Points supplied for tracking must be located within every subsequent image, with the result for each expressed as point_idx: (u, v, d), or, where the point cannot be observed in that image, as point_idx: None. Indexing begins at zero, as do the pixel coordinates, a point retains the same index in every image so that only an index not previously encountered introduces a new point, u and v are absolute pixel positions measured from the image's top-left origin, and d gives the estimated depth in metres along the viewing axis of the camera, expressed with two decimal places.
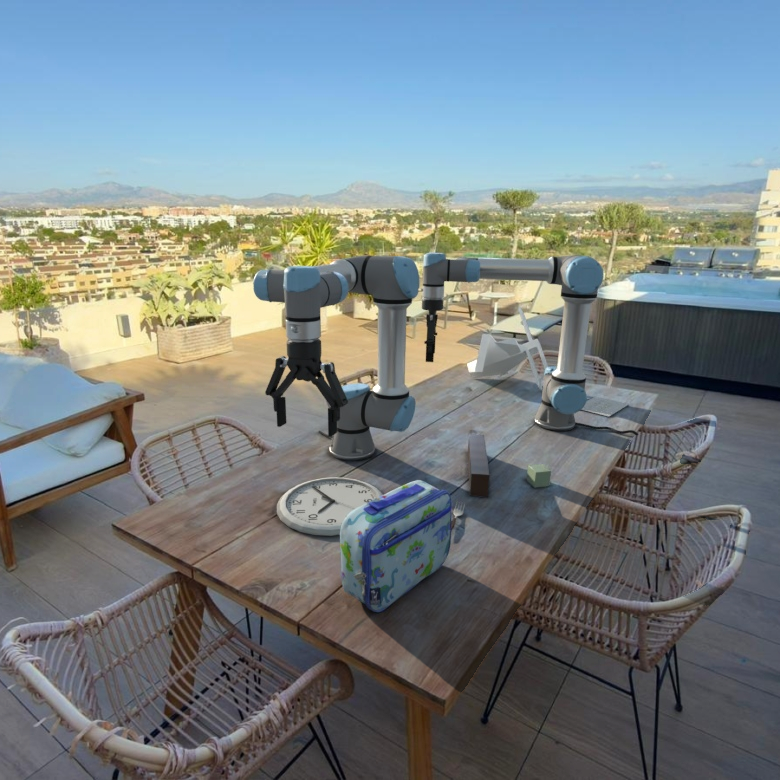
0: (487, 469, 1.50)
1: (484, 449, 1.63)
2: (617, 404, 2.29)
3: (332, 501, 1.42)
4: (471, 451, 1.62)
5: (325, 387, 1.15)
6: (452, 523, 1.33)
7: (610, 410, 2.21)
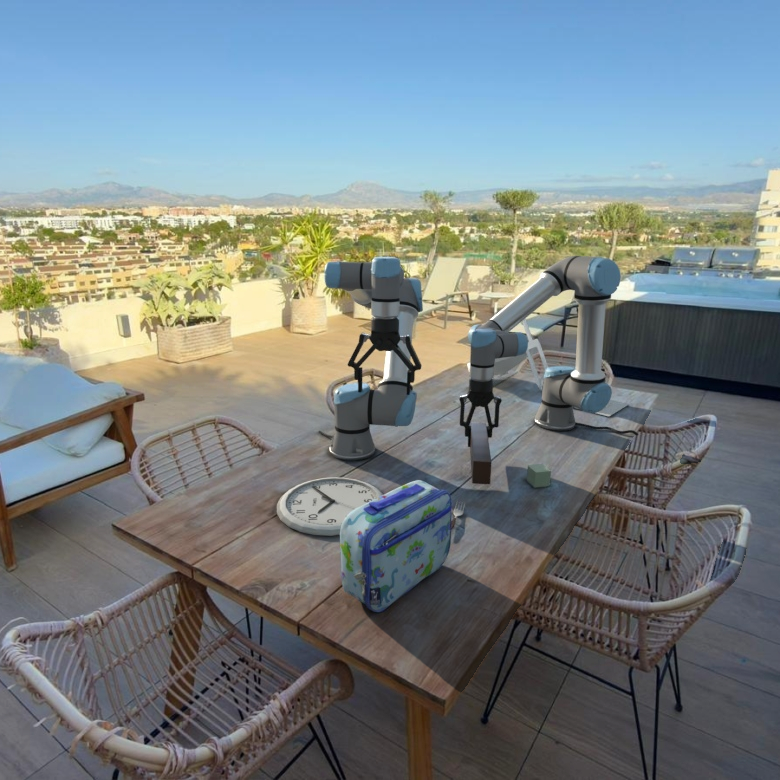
0: (489, 456, 1.49)
1: (486, 437, 1.62)
2: (617, 404, 2.29)
3: (332, 501, 1.42)
4: (473, 439, 1.61)
5: (365, 353, 1.44)
6: (452, 523, 1.33)
7: (610, 410, 2.21)
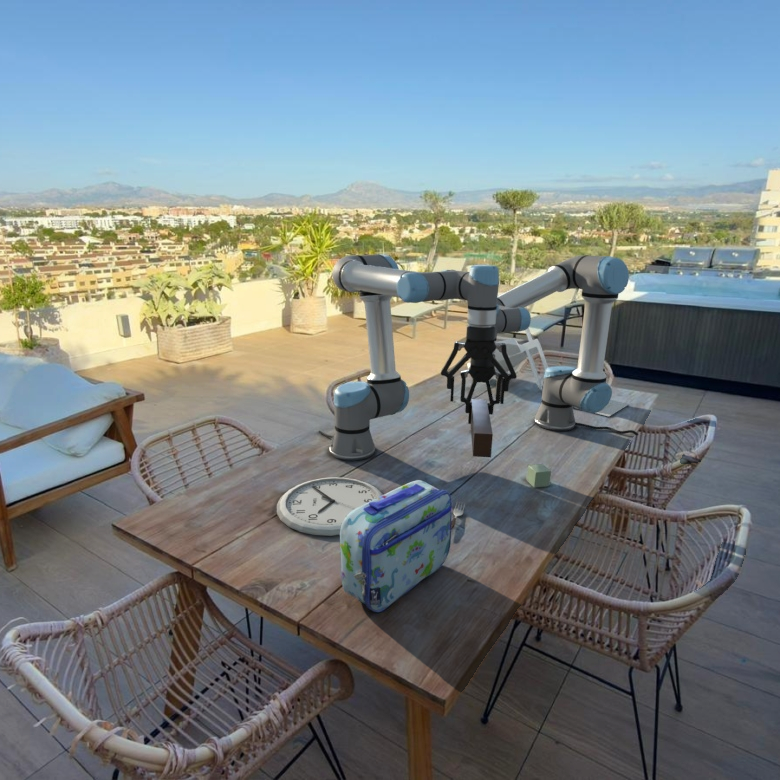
0: (490, 429, 1.46)
1: (487, 412, 1.60)
2: (617, 404, 2.29)
3: (332, 501, 1.42)
4: (474, 414, 1.58)
5: (459, 361, 1.42)
6: (452, 523, 1.33)
7: (610, 410, 2.21)
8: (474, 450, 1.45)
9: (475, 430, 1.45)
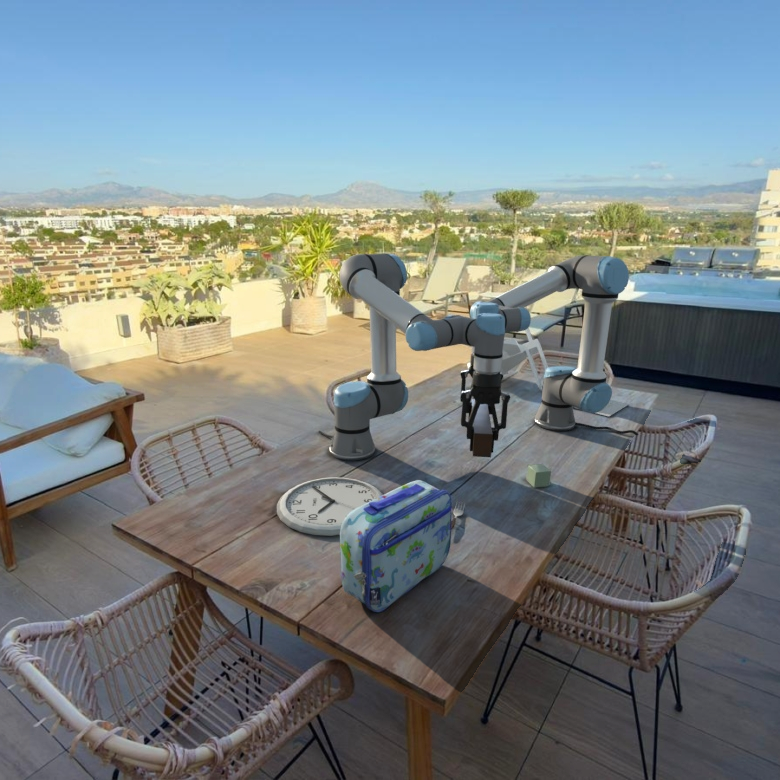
0: (490, 429, 1.46)
1: (487, 412, 1.60)
2: (617, 404, 2.29)
3: (332, 501, 1.42)
4: None
5: (472, 410, 1.46)
6: (452, 523, 1.33)
7: (610, 410, 2.21)
8: (474, 450, 1.45)
9: (475, 430, 1.45)
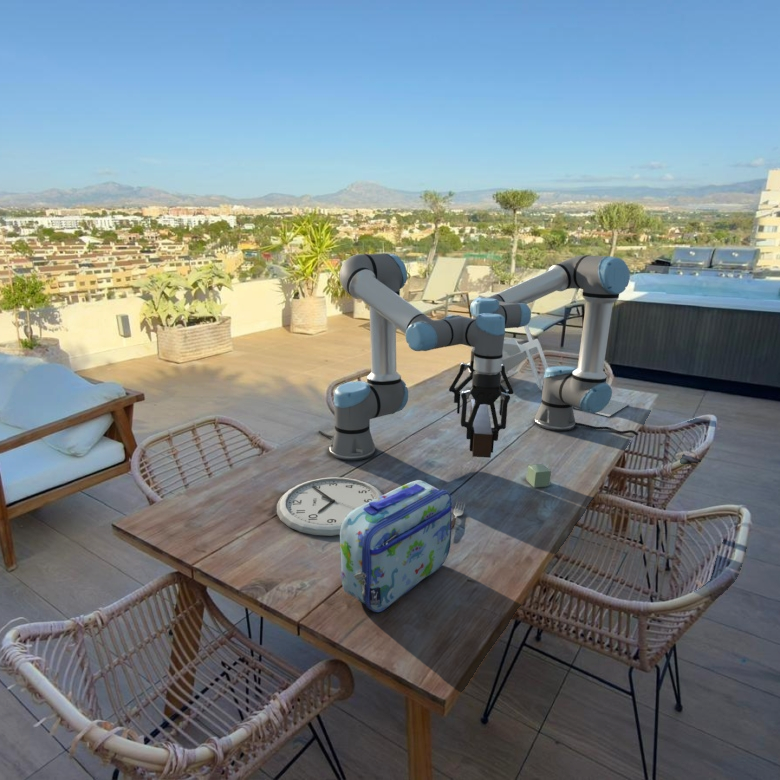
0: (490, 429, 1.46)
1: (487, 412, 1.60)
2: (617, 404, 2.29)
3: (332, 501, 1.42)
4: None
5: (472, 410, 1.46)
6: (452, 523, 1.33)
7: (610, 410, 2.21)
8: (474, 450, 1.45)
9: (475, 430, 1.45)
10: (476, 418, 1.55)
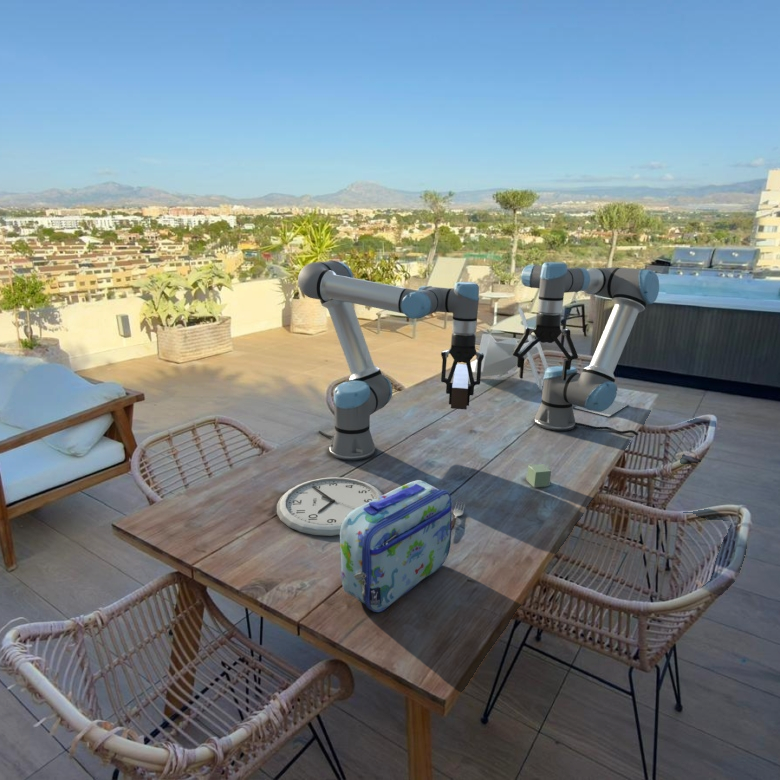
0: (467, 385, 1.67)
1: (467, 373, 1.80)
2: (617, 404, 2.29)
3: (332, 501, 1.42)
4: (455, 374, 1.79)
5: (451, 368, 1.67)
6: (452, 523, 1.33)
7: (610, 410, 2.21)
8: (452, 403, 1.66)
9: (453, 385, 1.66)
10: (456, 377, 1.75)
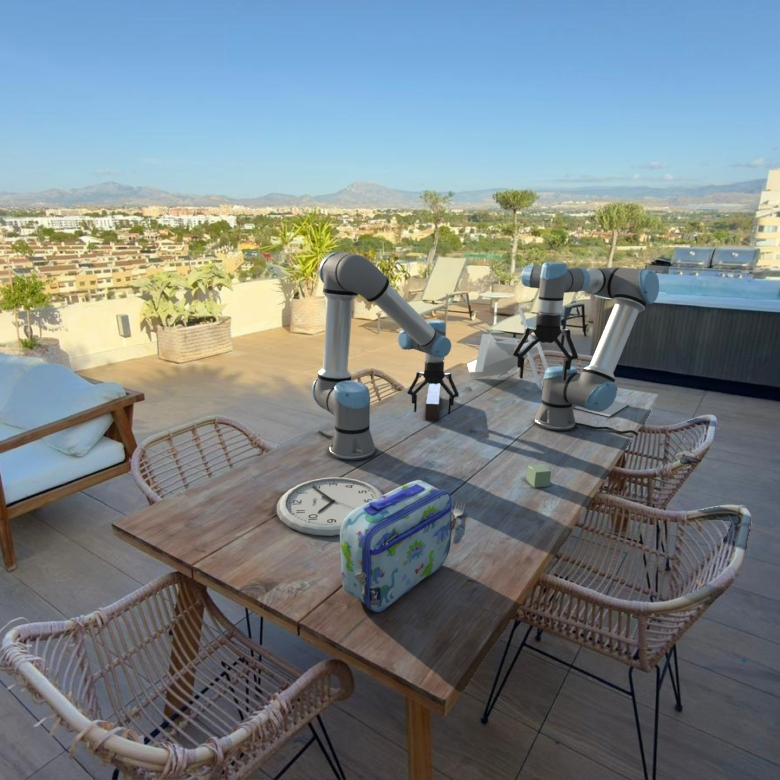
0: (438, 401, 2.08)
1: (438, 390, 2.21)
2: (617, 404, 2.29)
3: (332, 501, 1.42)
4: (428, 391, 2.19)
5: None
6: (452, 523, 1.33)
7: (610, 410, 2.21)
8: (426, 416, 2.06)
9: (427, 402, 2.07)
10: (430, 394, 2.16)
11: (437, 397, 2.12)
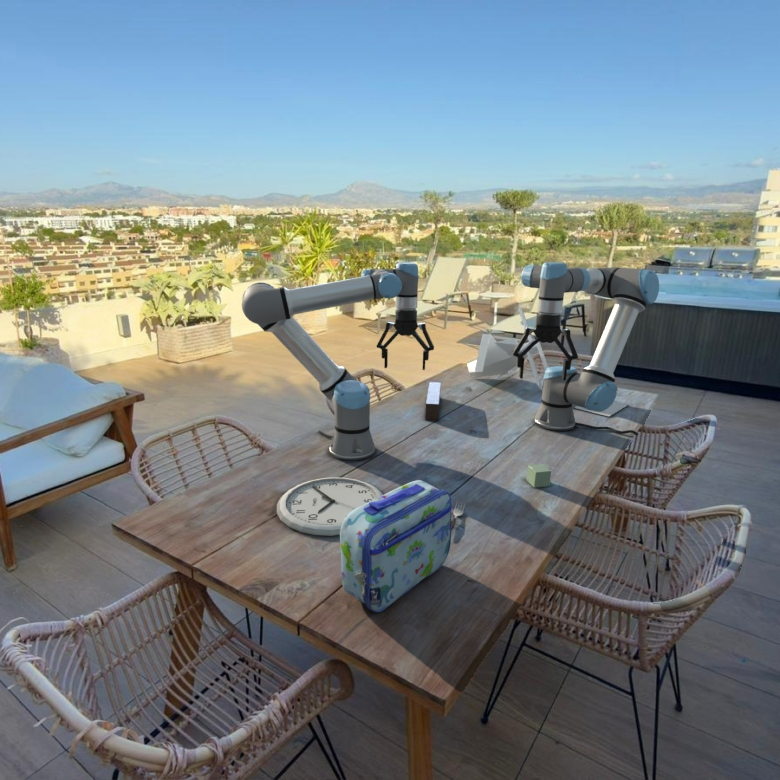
0: (438, 401, 2.08)
1: (438, 390, 2.21)
2: (617, 404, 2.29)
3: (332, 501, 1.42)
4: (428, 391, 2.19)
5: (390, 337, 1.85)
6: (452, 523, 1.33)
7: (610, 410, 2.21)
8: (426, 416, 2.06)
9: (427, 402, 2.07)
10: (430, 394, 2.16)
11: (437, 397, 2.12)
